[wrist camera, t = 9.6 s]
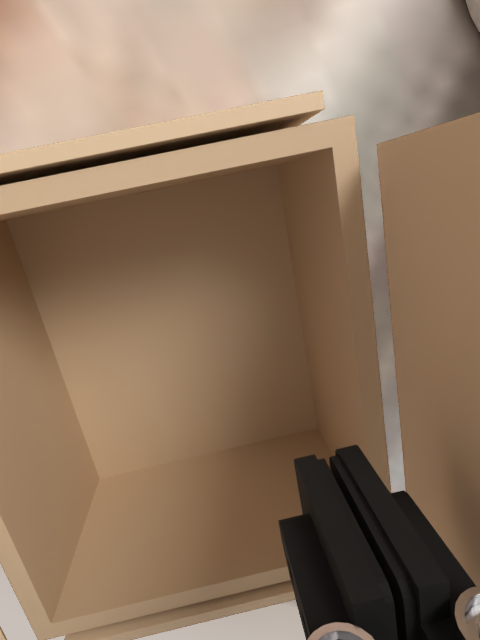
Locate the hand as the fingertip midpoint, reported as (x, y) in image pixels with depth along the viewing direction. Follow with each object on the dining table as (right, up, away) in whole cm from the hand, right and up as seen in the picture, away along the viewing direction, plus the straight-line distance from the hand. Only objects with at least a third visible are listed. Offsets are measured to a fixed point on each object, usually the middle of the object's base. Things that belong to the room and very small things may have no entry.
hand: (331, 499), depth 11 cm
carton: (-6, +4, +14) cm, 16 cm away
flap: (+4, +2, +4) cm, 6 cm away
